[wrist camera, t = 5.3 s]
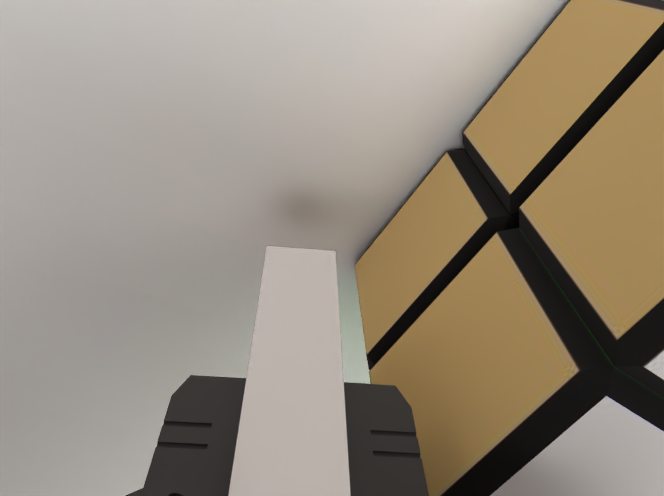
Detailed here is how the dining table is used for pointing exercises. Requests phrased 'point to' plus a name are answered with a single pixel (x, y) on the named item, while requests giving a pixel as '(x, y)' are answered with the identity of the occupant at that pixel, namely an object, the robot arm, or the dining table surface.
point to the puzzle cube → (538, 274)
